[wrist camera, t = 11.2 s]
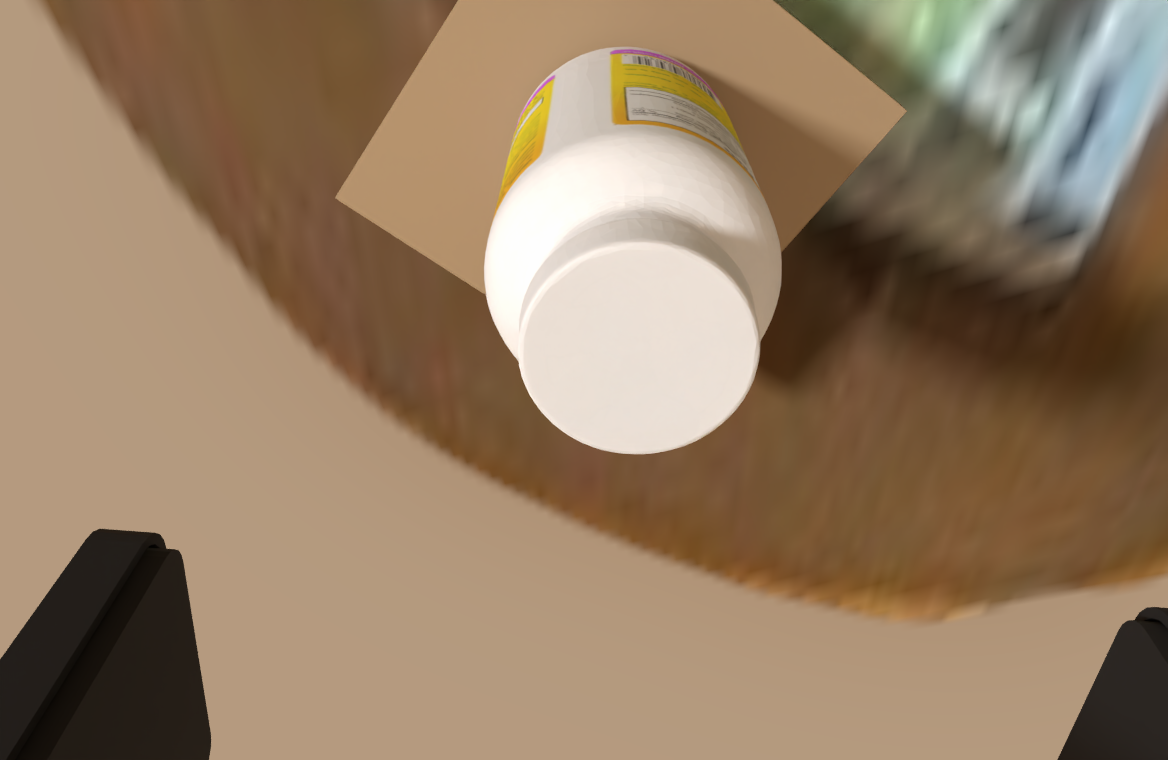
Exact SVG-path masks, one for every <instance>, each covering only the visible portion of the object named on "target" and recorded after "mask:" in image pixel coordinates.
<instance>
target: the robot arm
mask: <svg viewBox="0 0 1168 760" xmlns="http://www.w3.org/2000/svg"><path fill="white" fill-rule="evenodd" d="M210 749H211V732H210V727H209V720H208V714H207V707H206V701H205V695H204V689H203V682H202V676H201V670H200V664H199V658H198V651H197V645H196V639H195V633H194V626H193V620H192V614H191V608H190V601H189V595H188V589H187V583H186V576H185V570H184V564H183V559H182V555H181V554H180V552H179V551H178V550H175V549H166V546H165V542H164V539H163V538H162V537H161V535H160V534H157V533H149V532H135V531H122V530H108V529H98V530H96V531H93V532H92V533H91V534H90V536H89V537H88V538H87V539H86V540H85V542H84V543H83V544H82V546H81V547H80V549H79V550H78V551H77V553H76V554H75V556H74V557H73V558H72V560H71V561H70V563H69V564H68V565H67V567H66V568H65V570H64V571H63V572H62V574H61V575H60V577H59V578H58V579H57V581H56V582H55V584H54V585H53V586H52V588H51V589H50V591H49V592H48V593H47V595H46V596H45V598H44V599H43V600H42V602H41V603H40V605H39V606H38V607H37V609H36V610H35V612H34V613H33V615H32V616H31V617H30V619H29V620H28V621H27V623H26V624H25V626H24V627H23V628H22V630H21V631H20V633H19V634H18V635H17V637H16V638H15V640H14V641H13V643H12V644H11V645H10V647H9V648H8V649H7V651H6V653H5V654H4V655H3V657H2V658H1V659H0V760H209V755H210ZM1058 760H1168V608H1159V607H1151V608H1146V609H1144V610H1142V611H1141V612H1140V613H1139V614H1138V616H1137V617H1136V619H1135V620H1133V621H1132V620H1131V621H1127V622H1125V623H1124V624H1122V626H1121V628H1120V629H1119V631H1118V633H1117V635H1116V637H1115V639H1114V642H1113V644H1112V645H1111V648H1110V650H1109V652H1108V654H1107V656H1106V658H1105V660H1104V662H1103V664H1102V667H1101V669H1100V671H1099V673H1098V675H1097V677H1096V679H1095V681H1094V684H1093V686H1092V688H1091V690H1090V692H1089V694H1088V696H1087V698H1086V700H1085V703H1084V705H1083V707H1082V709H1081V711H1080V713H1079V715H1078V717H1077V720H1076V722H1075V724H1074V726H1073V728H1072V730H1071V732H1070V734H1069V736H1068V739H1067V741H1066V743H1065V745H1064V747H1063V749H1062V751H1061V754H1060V756H1059V758H1058Z"/></svg>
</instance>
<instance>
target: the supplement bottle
mask: <svg viewBox="0 0 1168 760" xmlns="http://www.w3.org/2000/svg"><path fill="white" fill-rule="evenodd" d="M781 275H782V259H781V248H780V243H779V238H778V235H777V231H776V227H775V225H774V222H773V219H772V216H771V213H770V211H769V208H768V206H767V203H766V201H765V198H764V196H763V194H762V192H761V189H760V187H759V185H758V183H757V181H756V178H755V176H754V174H753V171H752V169H751V166H750V164H749V162H748V159H747V157H746V155H745V152H744V150H743V148H742V146H741V143H740V141H739V139H738V136H737V134H736V131H735V129H734V127H733V125H732V122H731V120H730V118H729V116H728V114H727V112H726V110H725V108H724V106H723V104H722V103H721V101H720V100H719V98H718V97H717V95H716V94H715V93H714V91H713V90H712V89H711V88H710V86H709V85H708V84H707V83H706V82H705V81H704V80H703V79H702V78H701V77H700V76H699V75H698V74H697V73H696V72H694V71H693V70H692V69H691V68H689V67H688V66H686V65H685V64H683V63H682V62H680V61H678V60H676V59H674V58H672V57H670V56H668V55H665V54H663V53H660V52H656V51H653V50H649V49H644V48H638V47H612V48H604V49H599V50H595V51H592V52H589V53H586V54H583V55H580V56H578V57H576V58H574V59H572V60H570V61H568V62H567V63H565V64H564V65H562V66H561V67H559V68H558V69H556V70H555V71H554V72H552V73H551V74H550V75H549V76H548V77H547V78H546V79H545V80H544V81H543V82H542V83H541V84H540V85H539V86H538V87H537V89H536V90H535V91H534V93H533V94H532V95H531V97H530V98H529V100H528V102H527V103H526V105H525V107H524V109H523V111H522V113H521V115H520V118H519V120H518V123H517V126H516V129H515V133H514V136H513V140H512V144H511V148H510V152H509V156H508V160H507V164H506V169H505V173H504V177H503V181H502V185H501V190H500V194H499V198H498V202H497V206H496V209H495V214H494V218H493V221H492V225H491V228H490V232H489V237H488V241H487V247H486V252H485V263H484V281H485V289H486V296H487V302H488V306H489V309H490V312H491V315H492V318H493V321H494V323H495V325H496V327H497V329H498V331H499V333H500V335H501V337H502V338H503V340H504V342H505V344H506V345H507V347H508V348H509V349H510V351H511V352H512V353H513V355H514V356H515V357H516V358H517V360H518V361H519V367H520V371H521V375H522V378H523V381H524V383H525V386H526V388H527V390H528V392H529V394H530V396H531V398H532V399H533V401H534V402H535V404H536V405H537V407H538V408H539V410H540V411H541V412H542V413H543V414H544V415H545V416H546V417H547V418H548V419H549V420H550V421H551V422H552V423H553V424H554V425H555V426H556V427H558V428H559V429H560V430H562V431H563V432H564V433H566V434H567V435H569V436H571V437H572V438H574V439H576V440H578V441H580V442H582V443H584V444H587V445H589V446H592V447H595V448H598V449H601V450H605V451H609V452H616V453H624V454H651V453H658V452H664V451H668V450H672V449H676V448H679V447H683V446H685V445H687V444H690V443H692V442H694V441H696V440H698V439H700V438H702V437H704V436H706V435H707V434H709V433H710V432H712V431H713V430H715V429H716V428H717V427H718V426H719V425H721V424H722V423H723V422H725V421H726V420H727V419H728V418H729V417H730V416H731V415H732V414H733V413H734V412H735V410H736V409H737V408H738V407H739V405H740V404H741V403H742V401H743V400H744V398H745V396H746V395H747V393H748V391H749V389H750V387H751V385H752V383H753V381H754V378H755V374H756V371H757V367H758V363H759V358H760V341H761V339H762V337H763V336H764V334H765V332H766V330H767V328H768V326H769V324H770V322H771V320H772V317H773V314H774V311H775V308H776V305H777V302H778V298H779V293H780V287H781Z"/></svg>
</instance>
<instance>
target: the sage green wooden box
mask: <svg viewBox="0 0 1168 760" xmlns="http://www.w3.org/2000/svg"><path fill="white" fill-rule="evenodd" d="M612 47H638V48H644V49H649V50H653V51H656V52H660V53H663V54H665V55H668V56H670V57H672V58H674V59H676V60H678V61H680V62H682V63H683V64H685V65H686V66H688V67H689V68H691V69H692V70H693V71H694V72H696V73H697V74H698V75H699V76H700V77H701V78H702V79H703V80H704V81H705V82H706V83H707V84H708V85H709V86H710V88H711V89H712V90H713V91H714V93H715V94H716V95H717V97H718V98H719V100H720V101H721V103H722V104H723V106H724V108H725V110H726V112H727V114H728V116H729V118H730V120H731V122H732V125H733V127H734V129H735V131H736V134H737V136H738V139H739V141H740V143H741V146H742V148H743V150H744V152H745V155H746V157H747V159H748V162H749V164H750V166H751V169H752V171H753V174H754V176H755V178H756V181H757V183H758V185H759V187H760V189H761V192H762V194H763V196H764V198H765V201H766V203H767V206H768V208H769V211H770V213H771V216H772V219H773V222H774V225H775V227H776V231H777V235H778V238H779V243H780V248H781V252H782V251H783V250H784V249H785V248H786V247H787V245H788V244H789V243H790V242H791V241H792V240H793V239H794V238H795V236H796V235H797V234H798V233H799V232H800V231H801V230H802V229H803V227H804V226H805V225H806V224H807V223H808V222H809V221H810V220H811V218H812V217H813V216H814V215H815V214H816V213H817V212H818V211H819V209H820V208H821V207H822V206H823V205H824V204H825V203H826V202H827V200H828V199H829V198H830V197H831V196H832V195H833V194H834V193H835V192H836V190H837V189H838V188H839V187H840V186H841V185H842V184H843V183H844V181H845V180H846V179H847V178H848V177H849V176H850V175H851V174H852V172H853V171H854V170H855V169H856V168H857V167H858V166H859V165H860V163H861V162H862V161H863V160H864V159H865V158H866V157H867V156H868V154H869V153H870V152H871V151H872V150H873V149H874V148H875V147H876V145H877V144H878V143H879V142H880V141H881V140H882V139H883V138H884V136H885V135H886V134H887V133H888V132H889V131H890V130H891V129H892V127H893V126H894V125H895V124H896V123H897V122H898V121H899V120H900V118H901V117H902V116H903V115H904V114H905V113H906V112H907V110H906V109H905V108H904V107H903V106H902V105H901V104H899V103H898V102H897V101H896V100H895V99H893V98H892V97H891V96H890V95H888V94H887V93H886V92H885V91H884V90H882V89H881V88H880V87H879V86H878V85H876V84H875V83H874V82H873V81H871V80H870V79H869V78H868V77H867V76H865V75H864V74H863V73H862V72H861V71H859V70H858V69H857V68H856V67H854V66H853V65H852V64H851V63H850V62H848V61H847V60H846V59H845V58H844V57H842V56H841V55H840V54H839V53H837V52H836V51H835V50H834V49H833V48H831V47H830V46H829V45H828V44H827V43H825V42H824V41H823V40H822V39H820V38H819V37H818V36H817V35H816V34H814V33H813V32H812V31H811V30H810V29H808V28H807V27H806V26H805V25H803V24H802V23H801V22H800V21H799V20H797V19H796V18H795V17H794V16H793V15H791V14H790V13H789V12H788V11H786V10H785V9H784V8H783V7H782V6H780V5H779V4H778V3H777V2H776V1H774V0H458V2H457V3H456V5H455V6H454V8H453V10H452V11H451V13H450V14H449V16H448V18H447V19H446V21H445V22H444V24H443V26H442V27H441V29H440V30H439V32H438V34H437V35H436V37H435V38H434V40H433V42H432V43H431V45H430V46H429V48H428V50H427V51H426V53H425V54H424V56H423V58H422V59H421V61H420V63H419V64H418V66H417V67H416V69H415V71H414V72H413V74H412V75H411V77H410V79H409V80H408V82H407V83H406V85H405V87H404V88H403V90H402V91H401V93H400V95H399V96H398V98H397V99H396V101H395V103H394V104H393V106H392V107H391V109H390V111H389V112H388V114H387V115H386V117H385V119H384V120H383V122H382V123H381V125H380V127H379V128H378V130H377V131H376V133H375V135H374V136H373V138H372V139H371V141H370V143H369V144H368V146H367V147H366V149H365V151H364V152H363V154H362V155H361V157H360V159H359V160H358V162H357V163H356V165H355V167H354V168H353V170H352V171H351V173H350V175H349V176H348V178H347V179H346V181H345V183H344V184H343V186H342V187H341V189H340V191H339V192H338V194H337V195H336V197H335V198H336V199H337V200H339V201H340V202H342V203H344V204H345V205H347V206H348V207H350V208H351V209H353V210H354V211H356V212H358V213H359V214H361V215H362V216H364V217H365V218H367V219H368V220H370V221H372V222H373V223H375V224H376V225H378V226H379V227H381V228H382V229H384V230H386V231H387V232H389V233H390V234H392V235H393V236H395V237H396V238H398V239H400V240H401V241H403V242H404V243H406V244H407V245H409V246H410V247H412V248H414V249H415V250H417V251H418V252H420V253H421V254H423V255H424V256H426V257H428V258H429V259H431V260H432V261H434V262H435V263H437V264H438V265H440V266H442V267H443V268H445V269H446V270H448V271H449V272H451V273H452V274H454V275H456V276H457V277H459V278H460V279H462V280H463V281H465V282H466V283H468V284H470V285H471V286H473V287H474V288H476V289H477V290H479V291H480V292H482V293H484V294H485V295H486V289H485V281H484V263H485V252H486V247H487V241H488V237H489V232H490V228H491V225H492V221H493V218H494V214H495V209H496V206H497V202H498V198H499V194H500V190H501V185H502V181H503V177H504V173H505V169H506V164H507V160H508V156H509V152H510V148H511V144H512V140H513V136H514V133H515V129H516V126H517V123H518V120H519V118H520V115H521V113H522V111H523V109H524V107H525V105H526V103H527V102H528V100H529V98H530V97H531V95H532V94H533V93H534V91H535V90H536V89H537V87H538V86H539V85H540V84H541V83H542V82H543V81H544V80H545V79H546V78H547V77H548V76H549V75H550V74H551V73H552V72H554V71H555V70H556V69H558V68H559V67H561V66H562V65H564V64H565V63H567V62H568V61H570V60H572V59H574V58H576V57H578V56H580V55H583V54H586V53H589V52H592V51H595V50H599V49H604V48H612Z"/></svg>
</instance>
